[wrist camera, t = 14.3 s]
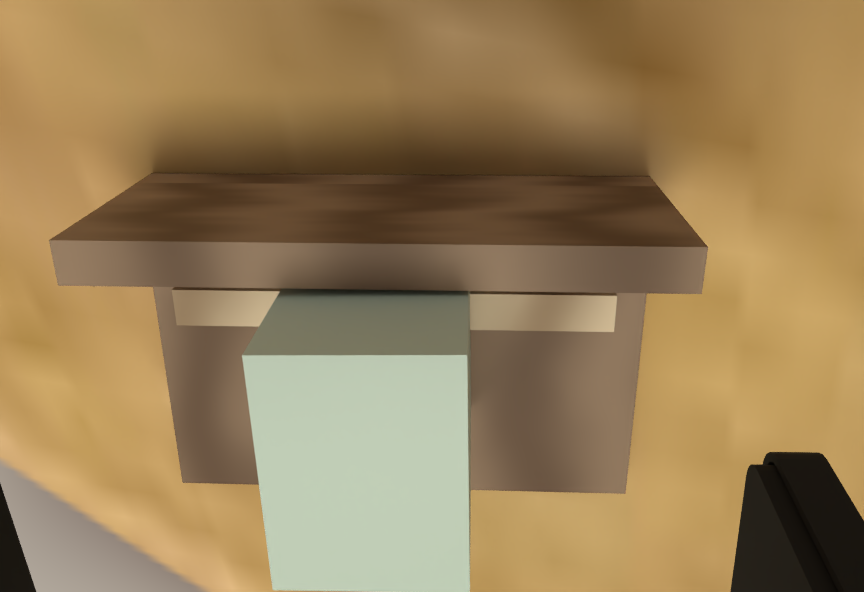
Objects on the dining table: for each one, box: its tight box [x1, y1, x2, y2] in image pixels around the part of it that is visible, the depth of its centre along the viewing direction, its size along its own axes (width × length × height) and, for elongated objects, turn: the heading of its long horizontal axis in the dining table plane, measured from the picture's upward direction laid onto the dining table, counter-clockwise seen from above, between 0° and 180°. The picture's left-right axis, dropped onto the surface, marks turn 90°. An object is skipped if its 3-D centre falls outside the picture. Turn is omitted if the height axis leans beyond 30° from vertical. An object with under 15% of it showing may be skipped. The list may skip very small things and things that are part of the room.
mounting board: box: [49, 173, 708, 494], centre depth 31 cm, size 20×14×8 cm
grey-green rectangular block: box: [242, 288, 471, 592], centre depth 28 cm, size 6×9×11 cm
